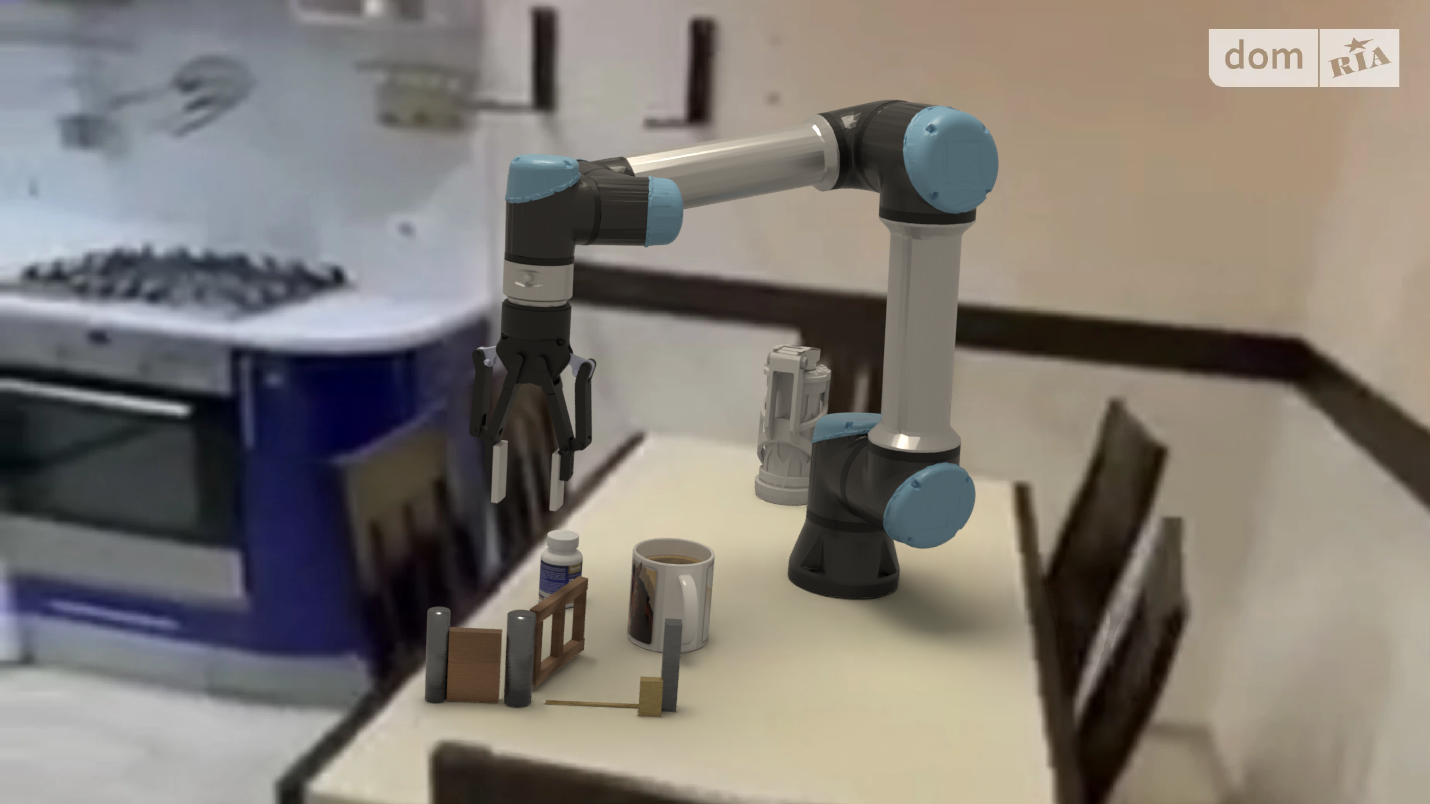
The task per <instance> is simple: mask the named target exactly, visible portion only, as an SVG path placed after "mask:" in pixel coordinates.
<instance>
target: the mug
mask: <svg viewBox="0 0 1430 804" xmlns="http://www.w3.org/2000/svg"><path fill="white" fill-rule="evenodd" d="M715 559H716V554H715V551H714V549H712V548H711V547H709V546H708V545H706V544H704V543H701V542H698V541H695V540H692V539H691V540H690V539H688V538H687V539H685V538H680V537H656V538H647V539H645V540H642V541H639V542H638V543H636V544H635V545H634V546H633V548H632V556H631V570H630V571H631V572H630V587H629V600H628V601H629V603H628V615H627V631H626V635H627V638H628V639H629V640H630V642H631V643H633V644H634V645H635V646H638V647H640V648H643V649H646V650H649V651H653V652H657V653H663V642H664V628H665V618H667V619H682V625H683V626H682V640H681V653H688V652H692V651H697V650H699V649H701V648H703V647H704V646H706V645H707V643H708V642H709V631H710V621H711V609H712V596H713V584H714V583H713V581H714V571H715V570H714V568H715Z"/></svg>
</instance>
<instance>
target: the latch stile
mask: <svg viewBox="0 0 1430 804" xmlns="http://www.w3.org/2000/svg"><path fill="white" fill-rule="evenodd" d="M682 626H683V625H682V619H667V618H665V628H664V642H663V652H662V657H661V658H662V659H661V671H660V673H661V674H660V677H659V676H640V680H639V693H638V704H639V706H638V708H637V714H638V717H640V716H641V717H657V718H658V717H659V718H660V717H662V712H668V713H676V712H677V704H678V703H677V702H678V691H679V677H680V666H681V665H680V664H681V663H680V662H681V654H682V652H681V640H682Z"/></svg>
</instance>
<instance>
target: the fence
mask: <svg viewBox="0 0 1430 804" xmlns="http://www.w3.org/2000/svg"><path fill="white" fill-rule="evenodd" d="M451 611H452V610H450V608H448V607H445V606H433V607H430V608H428V609H427V616H426V617H427V618H426V645H425V649H426V650H425V676H424V677H425V679H424V700H425V701H426V702H427V703H432V704H442V703H444V702H460V703H462V702H463V703H479V704H480V703H481V704H482V703H483V704H499V701H500V690H501V666H502V665H501V664H502V646H503V645H502V644H503V629H501V628H499V629H498V628H479V627H475V628H474V627H461V626H460V627H459V626H458V627H456V626H451ZM506 618H507V619H506V638H505V639H506V640H505V659H504V660H505V661H504V662H505V663H504V682H503V684H504V685H503V704H504V705H506V706H507V707H511V708H517V709H519V708H520V709H521V708H526V707H529V706H530V705H531V704H532V700H533V699H532V697H533V686H532V682H533V662H534V643H535V623H536V614H535V613H534V612H532V611H530V609H529V610H528V609H513V610H510V611H509V612H507V616H506ZM544 702H545V703H544V704H545V705H560V706H582V707H583V706H584V707H585V706H586V707H604V708H605V707H609V708H628V709H630V708H631V709H634V708H635V709H638V706H639V703H623V702H620V703H619V702H604V701H602V702H599V701H577V700H574V701H573V700H556V699H555V700H554V699H553V700H551V699H545V701H544Z"/></svg>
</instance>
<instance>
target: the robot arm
mask: <svg viewBox="0 0 1430 804" xmlns="http://www.w3.org/2000/svg"><path fill="white" fill-rule="evenodd" d="M999 163H1000V162H999V153H998V148H997V145H996V143H995V139H994V138H993V135H992V133H991V132H990V130H989V129H988V128H987V127H986V126H985V124H984V122H982V121H981V120H980V119H978V118H977V117H975V115H973V114H971V113H968V112H965V111H961V110H959V109H956V108H955V107H954V108H953V107H952V106H948V105H947V106H946V105H945V106H944V105H938V104H929V103H923V102H922V103H920V102H912V101H907V100H901V99H883V100H882V99H881V100H875V101H870V102H867V103H861V104H858V105H852V106H848V107H844V108H839V109H834V110H829V111H824V112H819V113H815V114H810V115H808V116H807V117H805V119H804V120H803V121H802V124H798V125H793V126H787V127H783V128H781V127H780V128H777V129H775V128H774V129H771V130H770V129H769V130H764V131H759V132H753V133H747V134H741V135H740V134H739V135H735V136H730V137H725V138H724V137H723V138H719V139H713V140H712V139H711V140H705V141H700V142H696V143H689V144H684V145H679V146H678V145H677V146H673V147H672V146H671V147H666V148H659V149H655V150H650V151H649V150H648V151H644V152H637V153H631V154H625V155H621V156H617V157H616V156H615V157H609V158H608V157H607V158H601V159H597V160H592V161H589V160H586V159H581V158H576V159H575V158H574V157H570V156H566V155H565V156H564V155H555V154H545V153H544V154H543V153H525V154H519V155H516V156H515V157H513V159H512V160H511V161H510V163H509V167H508V174H507V180H506V190H505V191H506V192H505V195H504V197H505V198H504V200H505V223H504V224H505V226H504V227H505V231H504V232H505V233H504V234H505V235H504V236H505V237H504V255H503V257H504V258H503V269H502V270H503V272H502V273H503V274H502V275H503V276H502V294H503V295H504V296H505V297H506V298H505V299H503V301H502V302H501V314H500V315H501V316H500V317H501V318H500V337H499V340H498V342H497V343H496V345H493V346H486V345H482V346H479V347H477V348H476V349H475V350H473V351H472V353H471V358H472V362H473V367H474V370H475V372H474V380H473V381H474V382H473V391H472V400H471V407H470V408H471V409H470V419H469V426H468V427H469V428H468V433H469V435H470V436H471V437H473V438H478V439H479V440H481V441H482V442H483V443H484V445H485V446H484V468H485V469H484V470H485V472H491V473H492V474H491V492H490V493H491V496H490V497H491V500H490V502H491V503H493V504H498V503H500V502H501V501H502V500H503V499H504V498H505V497H506V491H507V469H508V468H507V467H508V448H509V445H508V443H509V441H508V440H502V439H501V438H503V436H504V434H503V433H504V430H505V428H506V425H507V423H508V419H509V417H510V415H511V412H512V409H513V407H514V404H515V401H516V398H517V396H518V393H519V391H520V388H521V387H522V385H525V384H526V385H527V384H532V385H534V386H537V387H541V389H542V393H543V395H544V396H545V399H546V403H547V406H548V410H549V415H550V418H551V419H550V420H551V421H552V422H551V423H552V426H553V429H554V433H555V439H556V442H557V446H558V448H557V449H556V450H555V451H554V452H553V453H552V455H551V472H550V473H551V475H550V492H549V493H550V494H549V496H550V497H549V511H550V512H557V511H558V510H559V509H560V508H561V507H562V506H563V505H564V494H565V482H569V481H570V480H571V479H572V477H573V475H574V467H575V464H574V463H575V453H576V452H579V451H584V450H586V449H587V448H588V447H589V446H590V445H591V443H592V441H593V423H592V422H593V421H592V419H593V415H592V413H593V412H592V411H593V410H592V407H593V405H592V392H593V391H592V378H593V376H594V373H595V370H596V368H597V361H596V359H595V358H593V357H592V358H590V357H589V358H588V359H586V358H584V357H581V356H579V355H576V354H574V350H573V348H572V346H571V340H570V339H571V324H572V323H571V321H572V308H573V307H572V305H571V304H570V302H569V301H568V300H570V299H571V298H572V297H573V293H574V292H573V285H574V269H575V267H574V266H575V257H576V256H575V250H576V246H585V247H586V246H625V247H627V246H628V247H629V246H631V247H634V246H635V247H637V246H638V247H644V248H649V247H652V246H654V247H655V246H666V245H670V244H672V243H673V242H674V241H675V240H677V238H678V237H679V234H680V232H681V229H682V226H683V221H684V210H688V209H693V208H698V207H704V206H705V207H706V206H709V205H714V204H720V203H724V202H731V201H736V200H742V199H746V198H753V197H758V196H763V195H769V194H774V193H778V192H779V193H781V192H784V191H790V190H794V189H795V190H796V189H801V188H805V187H806V188H807V187H813V188H815V190H817V191H818V192H828V191H834V190H844V189H845V190H846V189H848V190H849V189H852V190H853V189H854V190H862V191H869V192H872V193H877V194H879V202H878V203H879V205H878V219H879V221H880V222H881V223H883V225H884V226H885V227H886V229H887V230H888V231H889V234H890V236H889V237H890V238H889V256H888V257H889V259H888V272H887V273H888V276H887V277H888V278H887V295H886V297H887V298H886V315H885V316H886V317H885V333H884V351H883V352H884V354H883V367H882V371H883V374H882V388H881V390H882V392H881V408H880V413H874V412H873V413H872V412H836V413H829V414H828V413H827V415H825V416H822V417H821V418H819V419H818V420H817V422H816V424H815V428H814V433H813V438H812V441H811V445H812V453H811V465H810V476H809V487H808V499H807V504H806V511H805V512H806V513H805V519H804V524H803V525H802V528H801V529H800V532H799V535H798V536H797V539H796V541H795V544H794V546H793V548H792V551H791V552H790V555H789V558H788V566H787V577H788V579H789V580H790V581H791V582H792V583H794V584H795V585H797V586H798V587H801V588H802V589H804V590H808V591H810V592H813V593H816V594H821V595H823V596H829V597H835V598H844V599H873V598H879V597H884V596H887V595H890V594H892V593H894V592H895V591H897V589H898V587H899V585H900V575H901V567H900V563H899V558H898V554H897V549H896V545H895V542H898V543H901V544H904V545H906V546H909V547H911V548H914V549H920V550H923V549H924V550H926V549H932V548H933V549H934V548H937V547H939V546H941V545H944V544H946V543H947V542H949V541H950V540H952V539H953V538H954V537H955V536H956V534H957V533H958V532H959V531H960V530H962V529H963V528H964V527H965V526H966V524H967V523H968V521H969V519H970V518H971V516H972V513H973V511H974V508H975V503H976V487H975V483H974V480H973V478H972V477H971V476H970V475H969V473H968V471H967V470H966V469H965V468H964V467H962V466H960V465H961V464H960V463H961V462H960V461H961V450H962V449H961V448H962V446H961V445H962V437H961V436H960V435H959V434H958V433H957V431H955V429H954V428H953V427H952V426H951V415H952V414H951V413H952V412H951V410H952V397H953V383H954V380H953V379H954V367H955V365H954V364H955V348H956V334H957V333H956V332H957V319H958V302H959V288H960V271H961V270H960V269H961V259H962V258H961V256H962V239H963V235H964V234H965V232H966V231H968V230H969V229H970V228H971V227H973V225H975V223H977V221H976V219H977V208H978V207H979V206H980V205H982V204H983V203H984V202H985V201H986V199H987V195H988V194H989V193H992V191H993V190H994V187H995V184H996V181H997V178H998V175H999ZM497 358H499V360H500V362H501V363H502V365H503V366H504V368H505V370H506V371H507V372H506V375H505V378H504V381H503V384H502V388H501V392H500V394H499V397H498V400H497V403H496V405H495V408H494V411H493V414H492V416H491V418H490V422H489V424H488V418H489V409H490V402H491V401H490V399H491V393H492V391H491V390H492V382H493V381H492V380H493V373H494V372H493V371H494V368H493V367H494V365H496V363H497ZM568 366H570V367H571V369H572V370H571V373H572V376H573V377H575V381H574V431H573V425H572V422H571V418H570V414H569V410H568V406H567V402H566V398H565V394H564V390H563V387H564V384H563V380H562V376H561V374H562V372H564V370H565V369H567V367H568Z"/></svg>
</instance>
